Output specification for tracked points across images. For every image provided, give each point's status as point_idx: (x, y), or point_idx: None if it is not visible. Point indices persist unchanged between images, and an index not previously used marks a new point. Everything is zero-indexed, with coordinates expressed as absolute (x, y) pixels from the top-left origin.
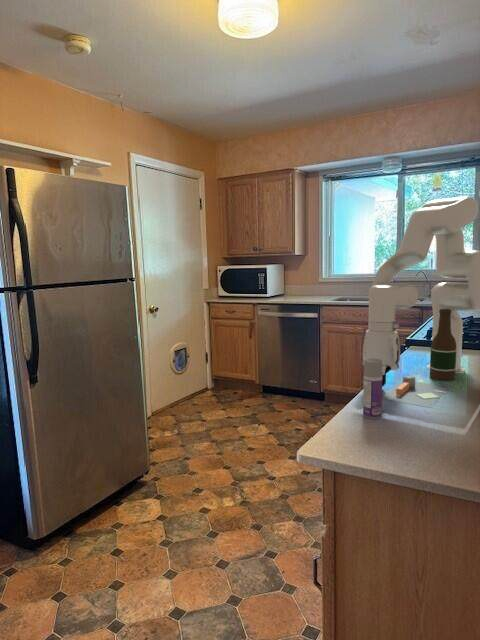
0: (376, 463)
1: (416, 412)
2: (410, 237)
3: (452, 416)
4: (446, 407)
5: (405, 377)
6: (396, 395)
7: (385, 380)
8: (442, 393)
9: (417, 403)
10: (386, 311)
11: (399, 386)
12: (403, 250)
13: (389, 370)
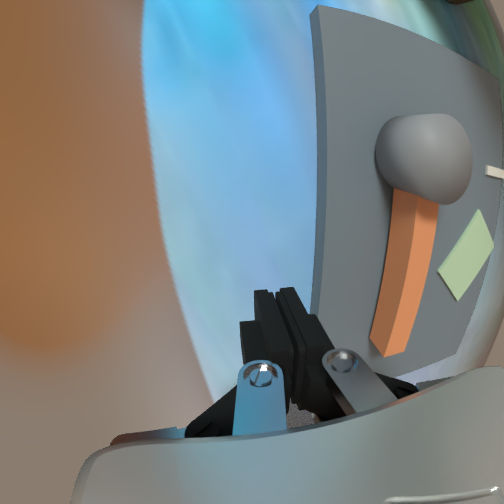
0: None
1: (417, 373)
2: None
3: (480, 332)
4: (486, 280)
5: (431, 174)
6: (368, 332)
7: (320, 329)
8: (500, 186)
9: (432, 351)
10: None
11: (397, 318)
12: None
13: (385, 384)
